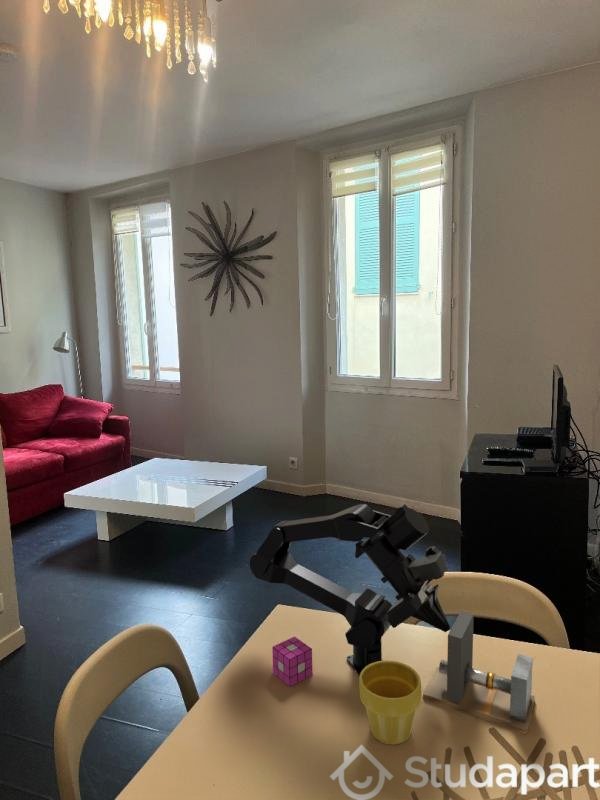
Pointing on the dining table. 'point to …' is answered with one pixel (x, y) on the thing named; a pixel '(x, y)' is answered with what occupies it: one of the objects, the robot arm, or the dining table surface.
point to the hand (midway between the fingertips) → (448, 630)
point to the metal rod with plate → (505, 684)
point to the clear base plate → (477, 702)
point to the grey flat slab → (459, 655)
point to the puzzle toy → (292, 661)
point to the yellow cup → (390, 699)
